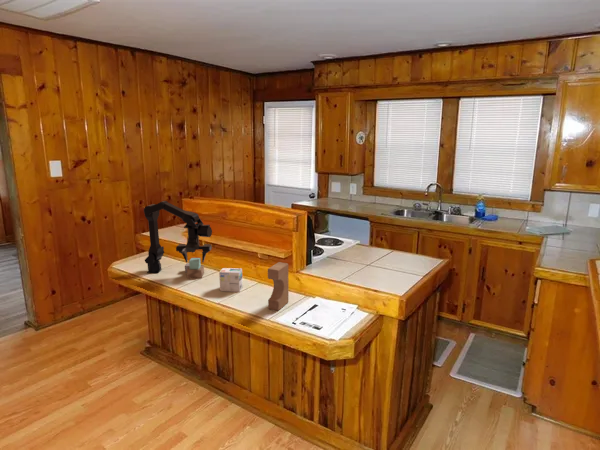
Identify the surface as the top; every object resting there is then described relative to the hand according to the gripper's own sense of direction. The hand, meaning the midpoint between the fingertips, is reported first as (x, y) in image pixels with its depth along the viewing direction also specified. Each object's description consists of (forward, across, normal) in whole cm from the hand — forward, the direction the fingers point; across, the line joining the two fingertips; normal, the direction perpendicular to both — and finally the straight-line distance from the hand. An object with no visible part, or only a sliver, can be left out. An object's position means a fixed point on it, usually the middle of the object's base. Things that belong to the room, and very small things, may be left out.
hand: (194, 262), depth 227 cm
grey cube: (+8, -5, +6) cm, 11 cm away
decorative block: (+8, +50, -38) cm, 63 cm away
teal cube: (+3, 0, 0) cm, 3 cm away
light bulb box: (+8, +24, -19) cm, 32 cm away
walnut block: (+8, 0, 0) cm, 8 cm away
